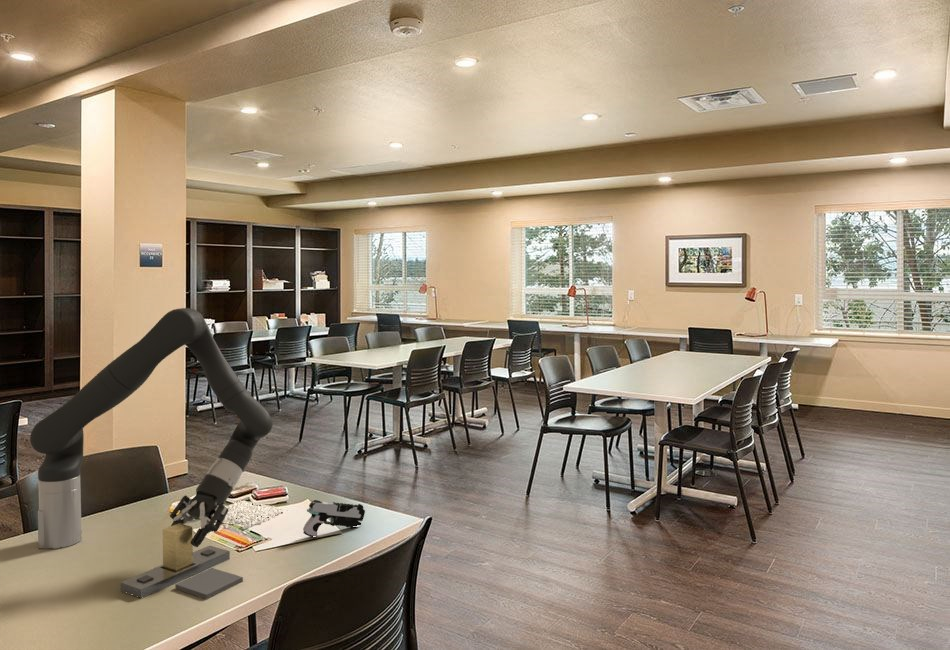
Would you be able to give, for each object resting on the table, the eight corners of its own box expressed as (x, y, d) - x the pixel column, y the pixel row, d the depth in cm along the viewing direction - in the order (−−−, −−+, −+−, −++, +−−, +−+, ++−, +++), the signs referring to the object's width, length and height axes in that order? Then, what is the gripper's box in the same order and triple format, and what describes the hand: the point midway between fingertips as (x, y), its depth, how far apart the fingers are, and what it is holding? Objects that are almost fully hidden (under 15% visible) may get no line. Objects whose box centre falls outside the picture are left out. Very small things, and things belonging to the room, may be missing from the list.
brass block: (176, 580, 155) (175, 533, 154) (163, 575, 157) (162, 529, 156) (192, 572, 159) (192, 526, 158) (179, 568, 161) (179, 523, 160)
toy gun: (357, 542, 189) (367, 506, 190) (303, 537, 179) (313, 500, 180) (354, 539, 191) (363, 504, 192) (299, 535, 180) (309, 497, 182)
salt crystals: (291, 513, 202) (291, 507, 202) (244, 533, 184) (244, 527, 184) (240, 503, 211) (240, 497, 211) (189, 521, 193) (189, 516, 193)
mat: (206, 599, 146) (206, 594, 146) (175, 588, 150) (175, 584, 150) (242, 581, 155) (242, 577, 154) (212, 571, 159) (212, 567, 159)
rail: (141, 598, 146) (140, 588, 145) (120, 591, 149) (120, 580, 149) (229, 559, 167) (229, 549, 167) (209, 553, 170) (209, 544, 170)
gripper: (190, 469, 168) (150, 528, 159) (231, 477, 162) (192, 540, 152) (208, 484, 173) (170, 543, 164) (249, 493, 167) (211, 555, 157)
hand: (181, 541), depth 158 cm, fingers open, 8 cm apart
